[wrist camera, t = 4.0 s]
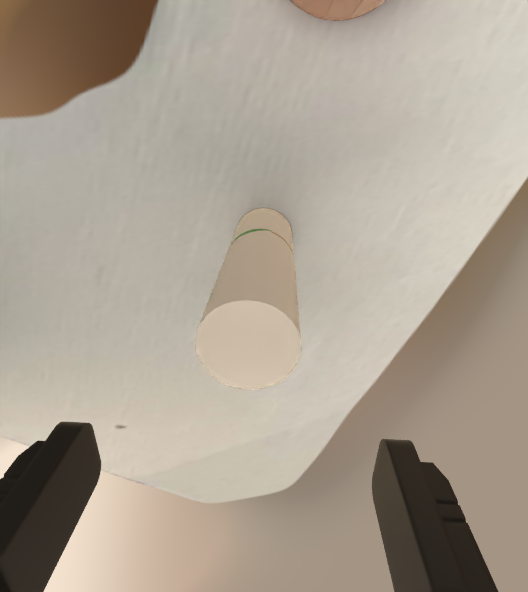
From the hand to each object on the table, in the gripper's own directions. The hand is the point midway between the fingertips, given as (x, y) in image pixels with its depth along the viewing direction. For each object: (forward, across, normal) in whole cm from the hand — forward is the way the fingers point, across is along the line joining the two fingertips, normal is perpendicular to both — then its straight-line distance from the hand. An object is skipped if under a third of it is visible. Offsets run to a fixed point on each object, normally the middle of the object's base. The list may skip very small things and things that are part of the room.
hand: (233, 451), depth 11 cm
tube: (+20, 0, 0) cm, 20 cm away
